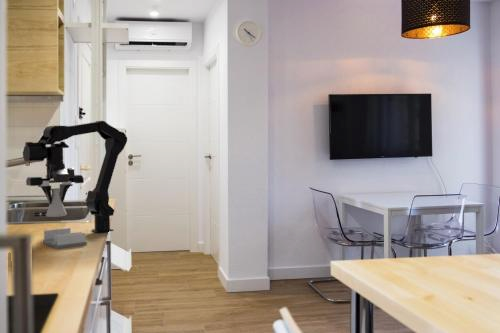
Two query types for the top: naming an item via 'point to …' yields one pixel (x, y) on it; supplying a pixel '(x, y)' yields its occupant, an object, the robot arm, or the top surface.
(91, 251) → the top surface
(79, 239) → the grey stepped block
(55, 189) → the flask
